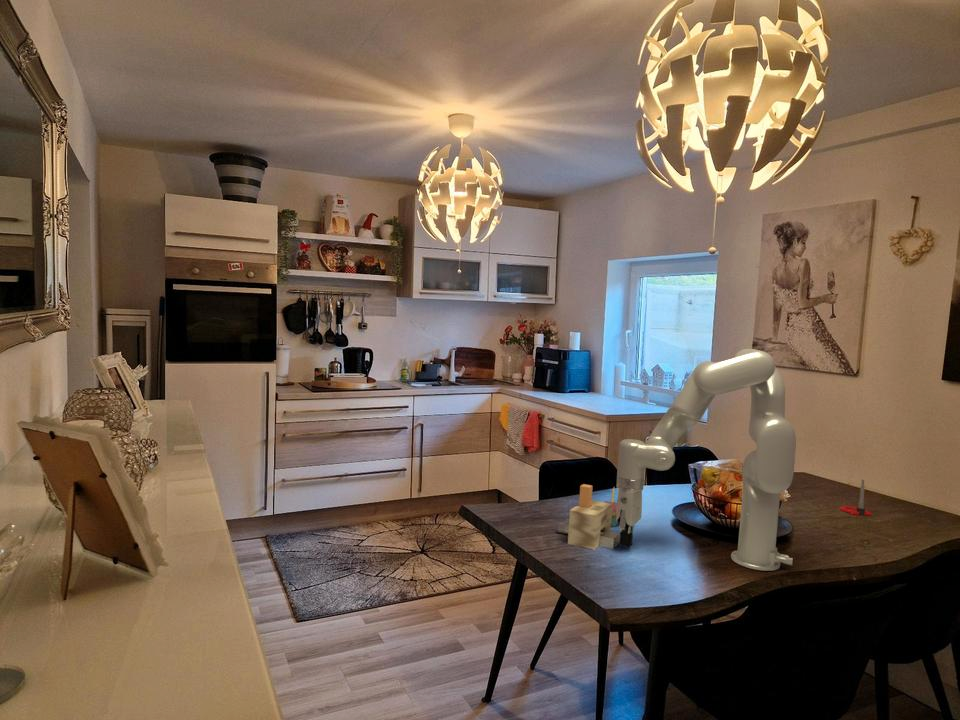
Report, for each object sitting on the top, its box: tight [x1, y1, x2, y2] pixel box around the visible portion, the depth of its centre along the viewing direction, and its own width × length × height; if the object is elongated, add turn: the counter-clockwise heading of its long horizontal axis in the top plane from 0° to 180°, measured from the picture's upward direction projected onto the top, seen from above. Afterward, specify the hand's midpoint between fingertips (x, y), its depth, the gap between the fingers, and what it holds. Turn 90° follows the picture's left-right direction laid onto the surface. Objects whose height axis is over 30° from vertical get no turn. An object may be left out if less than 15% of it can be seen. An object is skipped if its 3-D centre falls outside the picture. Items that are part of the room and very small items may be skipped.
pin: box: [557, 522, 620, 550], centre depth 187 cm, size 18×6×3 cm, turn 59°
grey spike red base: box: [839, 479, 872, 517], centre depth 230 cm, size 8×13×9 cm
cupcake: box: [604, 488, 618, 527], centre depth 202 cm, size 9×8×12 cm
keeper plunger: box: [578, 483, 594, 508], centre depth 187 cm, size 3×3×7 cm
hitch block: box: [567, 499, 612, 551], centre depth 186 cm, size 8×14×10 cm, turn 149°
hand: (625, 545), depth 181 cm, fingers closed
